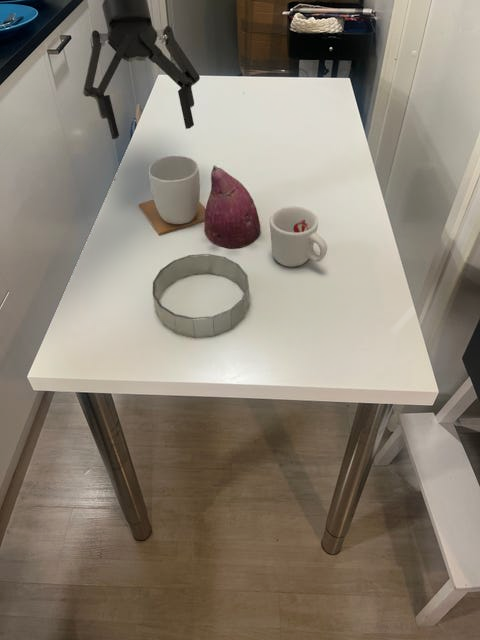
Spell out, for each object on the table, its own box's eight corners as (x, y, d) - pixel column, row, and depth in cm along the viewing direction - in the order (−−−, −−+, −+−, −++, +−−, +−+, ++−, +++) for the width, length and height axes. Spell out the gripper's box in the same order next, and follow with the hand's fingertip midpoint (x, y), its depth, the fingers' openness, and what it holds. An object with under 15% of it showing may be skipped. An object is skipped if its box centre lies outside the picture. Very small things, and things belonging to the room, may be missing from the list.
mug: (203, 227, 93) (199, 179, 85) (155, 230, 92) (147, 182, 85) (200, 190, 101) (196, 144, 94) (156, 193, 101) (148, 147, 93)
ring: (178, 350, 73) (175, 332, 70) (142, 290, 82) (138, 272, 79) (265, 315, 77) (266, 297, 75) (222, 262, 86) (221, 244, 84)
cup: (336, 263, 86) (342, 225, 80) (307, 286, 82) (312, 248, 76) (287, 237, 91) (290, 200, 85) (259, 258, 87) (259, 220, 81)
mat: (159, 235, 92) (158, 233, 92) (138, 206, 99) (138, 203, 98) (212, 218, 95) (212, 216, 95) (189, 191, 102) (188, 189, 102)
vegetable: (204, 258, 92) (174, 195, 81) (215, 220, 98) (188, 156, 87) (258, 253, 89) (234, 187, 78) (266, 214, 95) (245, 147, 84)
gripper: (187, 5, 90) (211, 127, 95) (45, 13, 82) (80, 146, 86) (200, -14, 83) (226, 118, 88) (47, -9, 75) (84, 137, 79)
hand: (153, 132), depth 87 cm, fingers open, 13 cm apart
